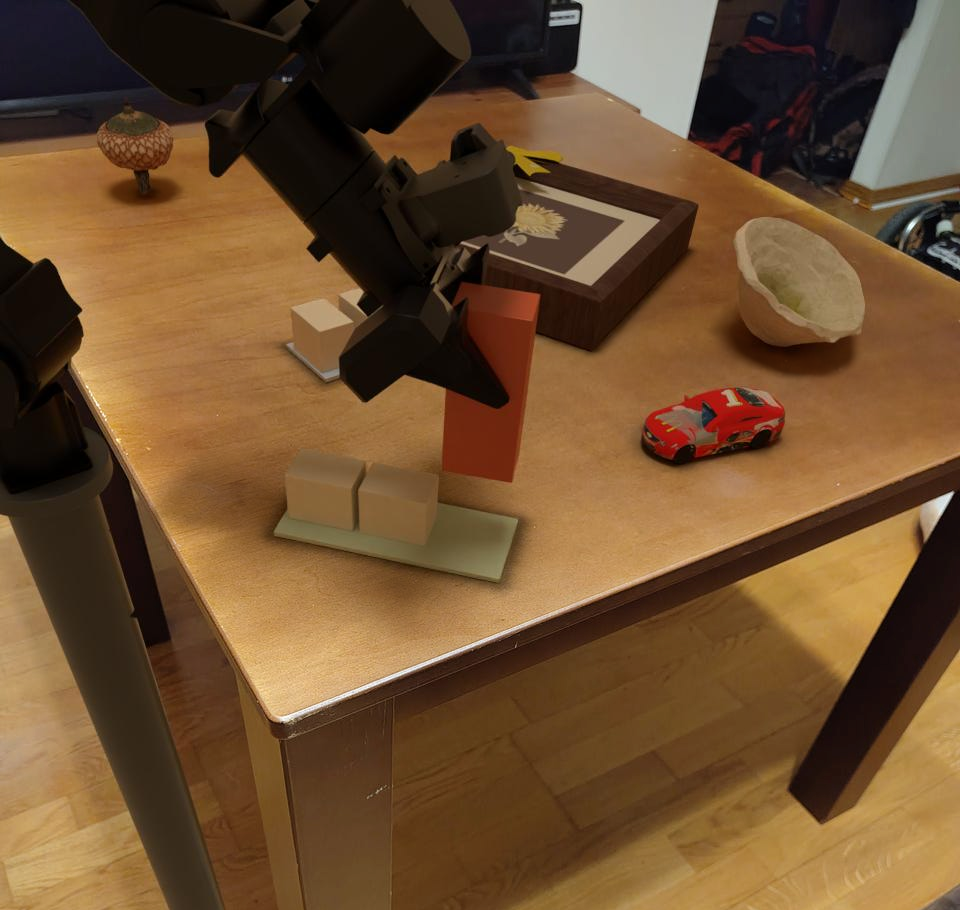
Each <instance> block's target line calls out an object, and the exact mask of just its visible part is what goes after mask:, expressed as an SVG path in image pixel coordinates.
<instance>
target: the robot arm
mask: <svg viewBox="0 0 960 910" xmlns="http://www.w3.org/2000/svg"><path fill="white" fill-rule="evenodd" d="M66 1H67V2H68V3H70V4H71V5H72V6H73V7H74V8H76V9H77V10H78V11H79V12H80V13H82V14H83V16H84V17H85V18H86V20H87V21H88V22H89V24H90V25H91V26H92V28H93V29H94V31H95V32H96V33H97V35H98V36H99V38H100V39H101V40H102V41H103V43H104V44H105V46H106V47H107V48H108V50H109V51H110V52H111V53H112V54H113V55H114V56H116V57H117V58H118V59H119V60H120V61H122V62H123V63H124V64H126V65H127V66H128V67H129V68H130V69H131V70H133V71H134V72H135V73H136V74H138V75H139V76H140V77H141V78H142V79H144V80H145V81H146V82H147V83H148V84H150V85H151V86H152V87H153V88H154V89H155V90H157V91H158V92H159V93H161V94H162V95H163V96H165V97H166V98H167V99H169V100H170V101H172V102H175V103H177V104H180V105H182V106H185V107H188V108H195V109H199V108H201V107H206V106H209V105H212V104H215V103H216V104H217V103H218V102H220V101H222V100H223V99H224V98H225V97H227V96H228V95H229V94H230V93H232V91H234V90H235V89H237V87H239V86H240V85H250V84H258V85H257V87H256V88H255V89H254V90H253V91H252V93H250V95H249V96H248V97H247V99H245V100H244V102H243V103H242V104H241V105H240V106H239V107H238V109H236V111H231V110H226V109H218V110H217V111H216V112H215V113H213V114H212V115H211V116H210V117H209V118H208V119H206V121H205V122H204V128H205V131H206V135H207V139H208V140H207V141H208V171H209V174H210V175H211V176H212V177H214V178H216V179H219V178H221V177H222V176H224V174H225V173H226V172H227V171H229V170H230V169H231V167H232V166H233V165H235V164H236V163H237V162H238V161H239V159H241V158H242V157H243V158H244V159H245V160H246V161H247V162H248V163H249V164H250V165H251V167H252V168H253V169H254V170H255V171H256V172H257V173H258V175H259V176H261V178H262V179H263V180H264V182H266V183H267V185H268V186H269V187H270V188H271V189H272V191H274V193H275V194H276V195H277V196H278V197H279V198H280V199H281V200H282V202H284V204H285V205H286V206H287V207H288V208H289V209H290V211H291V212H292V213H293V214H294V216H295V217H297V218H298V219H299V221H300V222H301V223H302V224H303V225H304V227H306V229H307V230H308V231H309V232H310V233H311V235H313V239H312V240H311V241H310V243H309V244H308V245H307V247H306V250H307V251H308V252H309V254H311V256H312V257H313V258H314V259H315V260H316V261H317V263H321V261H323V260H324V259H325V258H326V257H327V256H328V255H329V254H330V256H331V257H332V258H333V260H335V262H336V263H337V264H338V265H339V266H340V267H341V268H342V269H343V271H345V273H346V274H347V275H348V276H349V277H350V278H351V280H352V281H353V282H354V283H355V284H356V285H357V287H358V288H361V289H362V291H363V294H362V296H361V298H360V299H359V301H358V303H357V304H356V305H357V306H358V307H359V308H360V309H361V310H362V311H363V312H364V313H365V315H366V316H367V317H369V316H370V317H369V318H367V319H366V320H365V321H364V322H362V323H361V324H360V325H359V326H357V327H356V328H355V330H354V331H353V333H352V335H351V337H350V339H349V340H348V342H347V344H346V346H345V347H344V349H343V351H342V353H341V355H340V356H339V375H340V378H339V379H340V380H341V382H342V383H343V384H344V385H345V386H346V387H347V388H348V389H349V390H350V391H351V392H352V393H353V394H354V395H355V396H356V397H357V398H358V399H359V400H360V402H361V403H364V404H368V402H370V401H372V400H373V399H374V398H375V397H377V396H378V395H379V394H381V393H383V392H384V391H385V390H386V389H387V388H389V387H390V386H392V385H393V384H395V383H396V382H398V381H399V380H400V379H401V378H403V377H404V376H406V377H410V378H413V379H416V380H419V381H422V382H425V383H428V384H432V385H435V386H438V387H440V388H443V389H445V390H446V389H448V390H450V391H453V392H455V393H458V394H460V395H463V396H465V397H468V398H470V399H473V400H475V401H478V402H480V403H482V404H485V405H487V406H490V407H492V408H495V409H500V408H501V407H503V406H504V405H506V404H507V403H508V402H509V399H510V397H509V395H508V393H507V392H506V390H505V388H504V386H503V385H502V383H501V381H500V380H499V378H498V377H497V375H496V374H495V372H494V371H493V369H492V368H491V366H490V364H489V363H488V361H487V360H486V358H485V357H484V355H483V354H482V352H481V351H480V349H479V348H478V346H477V345H476V343H475V342H474V340H473V339H472V337H471V336H470V335H469V333H468V330H467V321H468V303H469V300H468V297H466V298H465V299H463V300H462V301H461V302H459V303H458V304H457V305H455V306H454V307H452V306H451V305H452V303H453V301H454V298H455V296H456V294H457V291H458V289H459V286H460V284H461V282H466V283H472V284H479V285H485V278H486V269H487V261H488V255H489V251H490V248H489V244H485V245H484V246H482V247H481V248H480V249H478V250H477V251H476V252H475V253H473V254H472V255H470V253H469V252H468V251H467V250H466V248H465V247H464V248H462V249H461V250H459V249H458V247H457V245H459V244H460V243H461V242H463V241H466V240H469V239H473V238H476V237H479V236H482V235H485V236H487V237H492V236H495V235H498V234H501V233H503V232H505V231H507V230H508V229H510V228H511V227H512V226H513V225H514V223H515V221H516V212H517V209H518V207H519V206H521V205H522V202H523V201H522V198H521V195H520V191H519V188H518V185H517V182H516V179H515V175H514V172H513V167H514V164H515V156H514V154H513V153H512V152H510V151H507V149H506V148H507V147H506V145H505V141H504V139H500V140H496V139H495V138H494V137H493V136H492V134H491V133H489V132H488V130H486V128H485V127H484V126H483V125H482V124H481V123H480V122H477V123H474V124H471V125H468V126H466V127H462V128H460V129H458V130H456V132H455V134H454V136H453V137H452V139H451V143H450V152H449V153H450V154H449V160H450V161H449V160H448V161H449V162H447V160H446V159H443V160H440V161H439V162H437V165H436V166H435V167H433V168H431V169H428V170H426V171H423V172H420V173H417V172H416V171H415V169H414V168H413V167H411V165H410V164H409V162H408V161H407V160H406V159H405V158H403V157H400V158H399V157H398V156H397V155H396V154H394V155H392V157H391V158H389V159H388V160H387V161H386V162H385V161H384V160H383V158H382V157H381V156H380V154H379V153H378V152H377V150H375V149H374V147H373V146H372V144H371V143H370V142H369V141H368V140H367V139H366V137H365V135H366V134H367V133H368V132H369V131H370V130H373V131H375V132H377V133H379V134H381V135H387V136H388V135H391V134H393V133H394V132H396V131H397V129H399V128H400V127H401V126H402V125H403V124H404V123H405V122H406V121H407V120H408V119H409V118H410V117H412V116H413V114H414V113H415V112H416V111H418V110H419V109H420V108H421V106H423V105H424V104H425V102H427V101H428V100H429V99H430V98H431V97H432V96H433V95H434V94H435V93H436V92H438V90H439V89H440V88H442V86H443V85H445V84H446V82H448V81H449V80H450V79H451V78H452V77H453V76H454V75H455V74H456V73H457V72H458V71H459V70H460V69H461V68H462V67H463V66H464V65H465V64H466V63H467V62H469V60H470V59H471V57H472V48H471V42H470V39H469V36H468V33H467V31H466V28H465V26H464V24H463V22H462V19H461V18H460V15H459V14H458V12H457V10H456V8H455V7H454V5H453V3H452V2H451V1H450V0H66ZM297 55H299V57H300V58H301V60H303V61H304V63H306V66H305V67H304V68H303V69H302V71H300V73H298V75H297V76H295V78H294V80H293V81H291V83H289V84H287V83H285V82H283V81H280V80H277V79H271V78H272V77H273V76H274V75H275V74H276V73H277V72H278V71H280V70H281V69H282V68H283V67H284V66H285V65H287V64H288V63H289V62H291V60H292V59H293V58H295V57H296V56H297ZM380 307H381V308H380ZM379 308H380V309H379ZM82 312H83V308H82V307H81V306H80V305H79V304H78V303H77V302H76V300H74V298H73V297H72V296H71V294H70V293H69V292H68V290H67V289H66V285H64V282H63V280H62V278H61V275H60V273H59V270H58V268H57V267H56V265H55V263H53V262H52V261H51V260H50V259H49V258H47V257H44V258H42V259H40V260H37V261H35V262H33V261H31V260H30V259H28V258H27V257H25V256H24V255H23V254H21V253H19V252H18V251H17V250H16V249H14V248H12V247H11V246H9V245H8V244H7V243H5V241H4V240H3V239H2V237H1V236H0V481H1V483H2V484H3V486H4V487H5V489H6V490H7V492H8V493H9V494H18V493H21V492H23V491H26V490H29V489H32V488H35V487H38V486H41V485H44V484H47V483H50V482H53V481H56V480H59V479H62V478H65V477H68V476H71V475H74V474H77V473H80V472H83V471H86V470H89V469H91V468H92V467H93V464H92V460H91V459H90V458H89V456H88V455H87V454H86V453H85V451H84V450H85V449H87V448H88V446H89V445H88V442H87V439H86V435H85V432H84V429H83V427H84V425H83V422H82V419H81V415H80V412H79V408H78V405H77V404H76V402H75V401H74V400H73V399H72V397H71V396H70V395H69V394H68V393H67V391H66V390H65V389H64V388H63V386H62V385H61V384H60V383H59V382H58V380H59V379H60V377H61V376H63V374H64V373H67V372H68V371H69V370H70V369H71V368H72V361H73V357H74V356H75V355H76V354H77V353H78V352H79V350H80V349H81V346H82V342H83V341H82V340H83V338H84V336H85V334H84V333H85V332H84V328H83V325H82V323H81V320H80V317H79V315H80V314H81V313H82ZM374 312H375V313H374Z"/></svg>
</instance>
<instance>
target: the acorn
mask: <svg viewBox="0 0 960 910" xmlns="http://www.w3.org/2000/svg"><path fill="white" fill-rule="evenodd" d="M123 103H124V107H123V110H122V112H120V113H117V114H115V115H114V116H112V117H111V118H110V119H108V120H107V121H104V122H103V123H102V124H101V126H100V127H99V129H98V131H97V132H96V143H97V147H98V148H99V150H100V152H102V154H103V155H104V157H106V159H108V161H109V162H110V163H111V164H113V165H115V166H116V167H118V168H120V169H127V170H131V171H133V174H134V177H135V180H136V185H137V190H138V192H139V194H141V195H146V194H148V192H149V191H150V190H152V186H151V183H150V178H151V177H150V172H149V170H152V171H155V170H157V169H158V168H159V167H162V166H165V165H166V164H167V163H168V161H169V160H170V157H171V154H172V151H173V148H174V136H173V133H172V130H171V128H170V126H169V125H168V124H167V123H166V122H164V121H163V120H160V119H158V118H157V117H153V116H152V115H150V114H149V113H147V112H144V111H139V110H135V109H134V108H133V107H132V106H131V105H130V101H129V99H128V97H124V99H123Z"/></svg>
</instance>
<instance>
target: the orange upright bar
mask: <svg viewBox="0 0 960 910" xmlns="http://www.w3.org/2000/svg"><path fill="white" fill-rule="evenodd" d="M466 297H468V300H469V303H468V321H467V330H468V333H469V335H470V336H471V337H472V339H473V340H474V342H475V343H476V345H477V346H478V348H479V349H480V351H481V352H482V354H483V355H484V357H485V358H486V360H487V361H488V363H489V364H490V366H491V368H492V369H493V371H494V372H495V374H496V375H497V377H498V378H499V380H500V381H501V383H502V385H503V386H504V388H505V390H506V392H507V393H508V395H509V397H510V399H509V402H508V403H507V404H506V405H504V406H503V407H501V408H500V409H495V408H492V407H490V406H487V405H485V404H482V403H480V402H478V401H475V400H473V399H470V398H468V397H465V396H463V395H460V394H458V393H455V392H453V391H450V390H448V389H445V396H444V397H445V398H444V414H443V415H444V416H443V432H442V433H443V434H442V435H443V436H442V450H441V472H445V473H450V474H451V473H452V474H456V475H463V476H468V477H474V478H481V479H486V480H490V481H491V480H492V481H498V482H504V483H508V484H509V483H510V484H512V483H513V480H514V478H515V477H514V476H515V472H516V468H517V464H518V461H519V457H520V451H521V443H522V437H523V430H524V429H523V428H524V423H525V422H524V421H525V416H526V415H525V413H526V406H527V399H528V391H529V385H530V377H531V367H532V361H533V353H534V346H535V338H536V324H537V317H538V309H539V301H540V294H535V293H529V292H523V291H516V290H510V289H504V288H498V287H491V286H485V285H479V284H472V283H466V282H461V284H460V286H459V289H458V291H457V294H456V296H455V298H454V301H453V303H452V305H451V306H452V307H454V306H455V305H457V304H458V303H459V302H461V301H462V300H463V299H465V298H466Z"/></svg>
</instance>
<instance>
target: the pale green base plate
mask: <svg viewBox="0 0 960 910" xmlns="http://www.w3.org/2000/svg"><path fill="white" fill-rule="evenodd" d="M283 475H284V486H285V495H286V503H287V509H285V510H286V511H285V512H284V514H283V516H282V517H281V518H280V520H279V522H278V524H277V526H276V527H275V529H274V531H273V537H278V538H283V539H287V540H293V541H298V542H302V543H306V544H311V545H317V546H321V547H325V548H330V549H336V550H340V551H345V552H350V553H354V554H359V555H363V556H369V557H372V558H373V557H374V558H378V559H382V560H387V561H392V562H397V563H402V564H407V565H410V566H411V565H412V566H415V567H421V568H426V569H431V570H435V571H439V572H445V573H449V574H455V575H460V576H463V577H468V578H473V579H479V580H483V581H488V582H492V583H496V584H497V583H498V584H499V583H501V578H502V575H503V573H504V569H505V567H506V563H507V559H508V557H509V552H510V549H511V547H512V542H513V539H514V537H515V534H516V531H517V527H518V524H519V518H515V517H511V516H506V515H501V514H495V513H490V512H485V511H482V510H481V511H480V510H476V509H471V508H465V507H462V506H456V505H452V504H448V503H447V504H446V503H441V502H439V501H438V499H439V480H440V475H439V474H435V473H432V472H425V471H421V470H416V469H412V468H411V469H410V468H406V467H400V466H395V465H391V464H387V463H382V462H376V461H372V463H371V465H370V467H369V469H368V471H367V461H366V460H365V459H360V458H354V457H351V456H345V455H340V454H335V453H330V452H325V451H321V450H320V451H319V450H316V449H310V448H306V447H301V448H300V449H299V451H298V452H297V454H296V456H295V457H294V459H293V461H292V462H291V463H290V465H289V467H288V468H287V470H286V471H285V473H284V474H283Z"/></svg>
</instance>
